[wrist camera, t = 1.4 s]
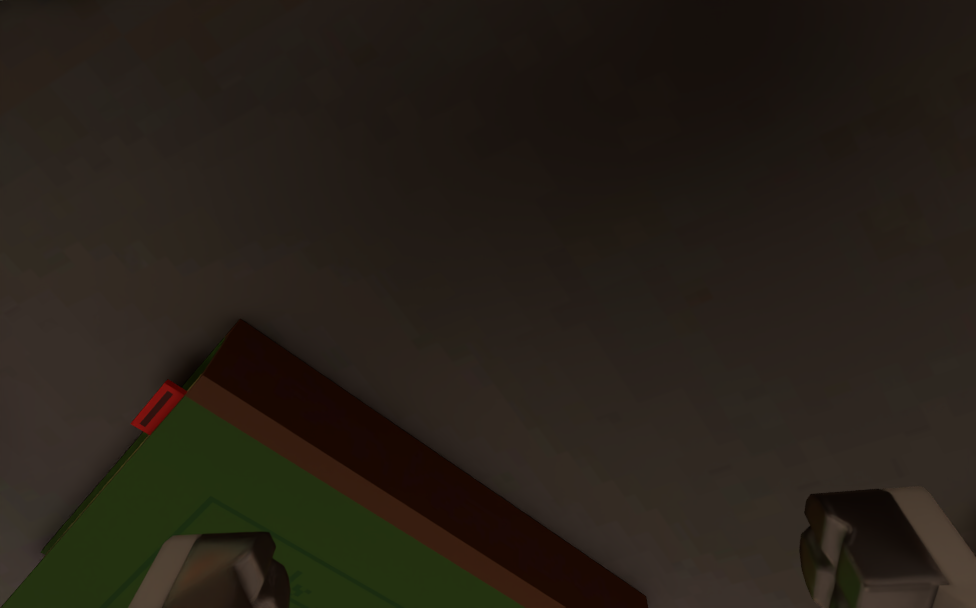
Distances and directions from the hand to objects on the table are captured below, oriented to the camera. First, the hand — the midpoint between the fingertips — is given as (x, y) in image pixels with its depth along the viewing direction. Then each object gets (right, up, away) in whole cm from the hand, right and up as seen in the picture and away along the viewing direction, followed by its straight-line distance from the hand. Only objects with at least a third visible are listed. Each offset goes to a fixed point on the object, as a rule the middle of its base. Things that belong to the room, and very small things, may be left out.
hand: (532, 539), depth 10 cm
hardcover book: (-8, -10, +24) cm, 27 cm away
